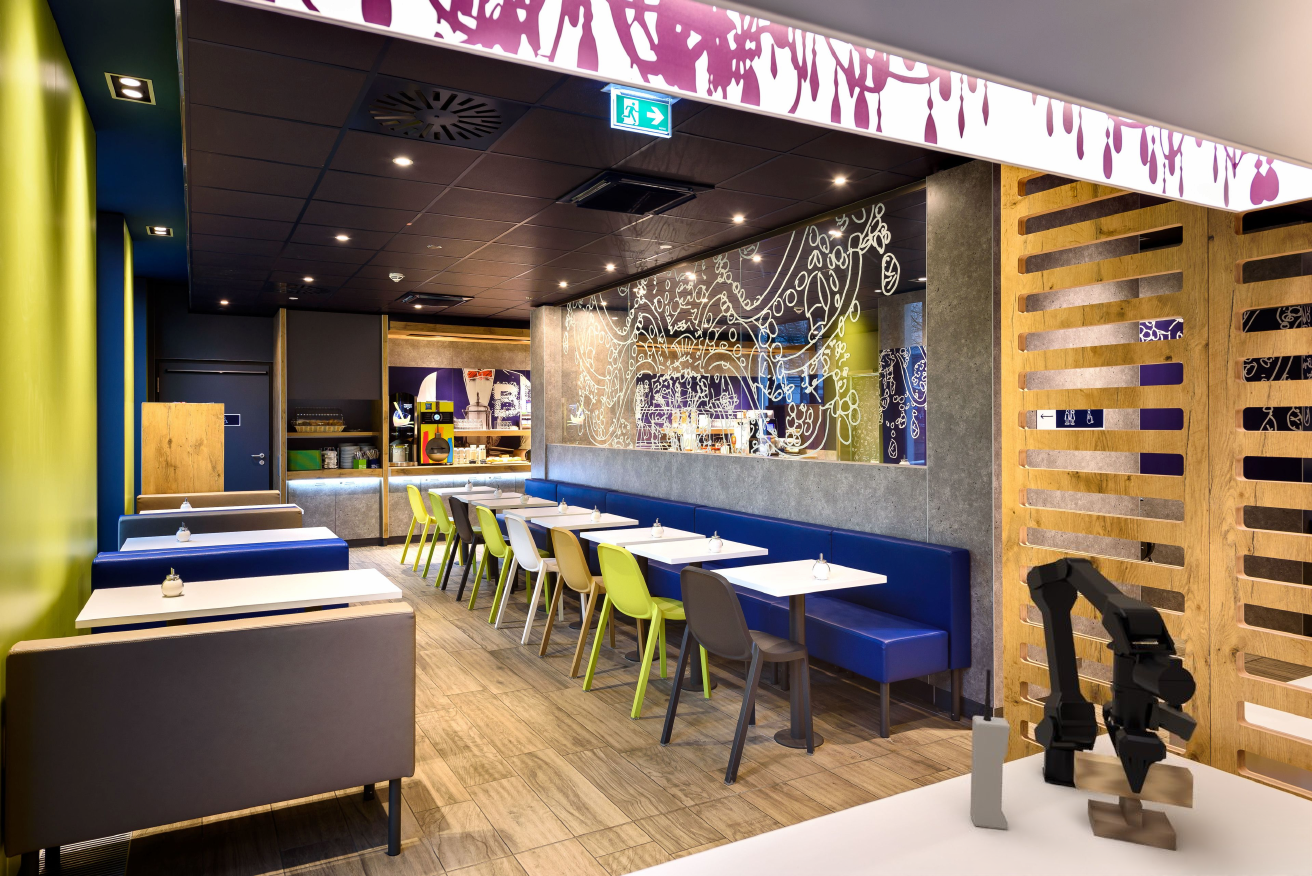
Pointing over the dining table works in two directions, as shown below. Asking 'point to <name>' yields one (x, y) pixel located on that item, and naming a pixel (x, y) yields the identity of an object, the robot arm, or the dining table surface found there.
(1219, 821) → the dining table surface
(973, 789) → the vintage mobile phone
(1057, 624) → the robot arm
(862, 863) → the dining table surface
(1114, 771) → the light wooden block
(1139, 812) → the ridge stand
